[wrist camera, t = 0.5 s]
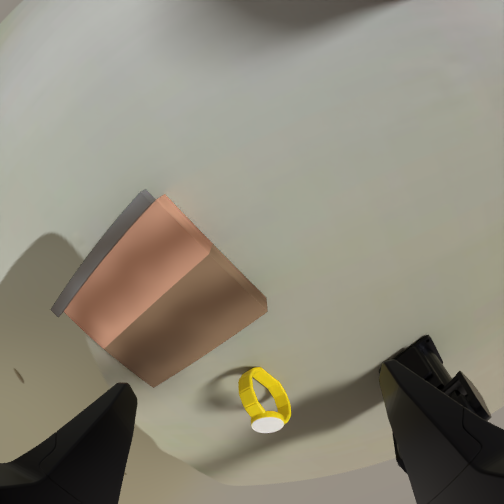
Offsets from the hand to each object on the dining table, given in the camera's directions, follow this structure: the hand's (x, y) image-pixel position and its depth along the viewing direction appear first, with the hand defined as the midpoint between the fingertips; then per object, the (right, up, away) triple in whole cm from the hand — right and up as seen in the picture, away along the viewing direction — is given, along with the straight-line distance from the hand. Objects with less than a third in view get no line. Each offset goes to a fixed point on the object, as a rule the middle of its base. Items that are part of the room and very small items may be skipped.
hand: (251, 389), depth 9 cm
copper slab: (-8, +1, +14) cm, 16 cm away
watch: (+1, -8, +17) cm, 19 cm away
